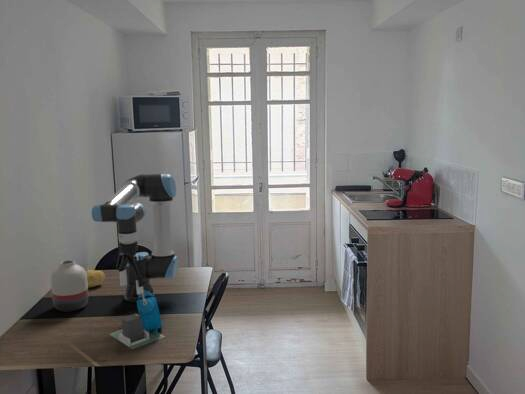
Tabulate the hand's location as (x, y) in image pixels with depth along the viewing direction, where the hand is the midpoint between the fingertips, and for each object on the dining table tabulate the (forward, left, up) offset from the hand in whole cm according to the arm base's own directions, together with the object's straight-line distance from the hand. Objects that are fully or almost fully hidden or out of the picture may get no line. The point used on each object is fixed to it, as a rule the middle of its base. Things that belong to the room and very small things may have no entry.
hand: (131, 289), depth 219 cm
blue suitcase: (+1, +8, -22) cm, 23 cm away
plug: (+5, -3, -20) cm, 21 cm away
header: (+5, -3, -20) cm, 21 cm away
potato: (-73, +15, -22) cm, 78 cm away
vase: (-52, -5, -22) cm, 57 cm away
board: (+2, 0, -22) cm, 22 cm away
